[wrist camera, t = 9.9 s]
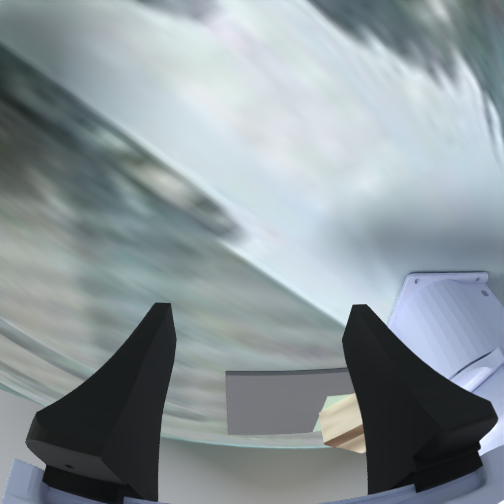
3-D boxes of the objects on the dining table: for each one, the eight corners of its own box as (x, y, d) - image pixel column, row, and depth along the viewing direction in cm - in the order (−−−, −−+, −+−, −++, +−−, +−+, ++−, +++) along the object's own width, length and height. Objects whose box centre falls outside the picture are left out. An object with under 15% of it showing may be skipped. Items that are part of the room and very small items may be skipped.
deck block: (388, 409, 34) (396, 437, 30) (355, 427, 36) (362, 454, 32) (354, 392, 31) (363, 425, 27) (318, 412, 33) (324, 444, 29)
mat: (418, 360, 29) (419, 364, 29) (379, 420, 36) (380, 423, 36) (225, 371, 29) (225, 375, 28) (228, 431, 35) (228, 434, 35)
